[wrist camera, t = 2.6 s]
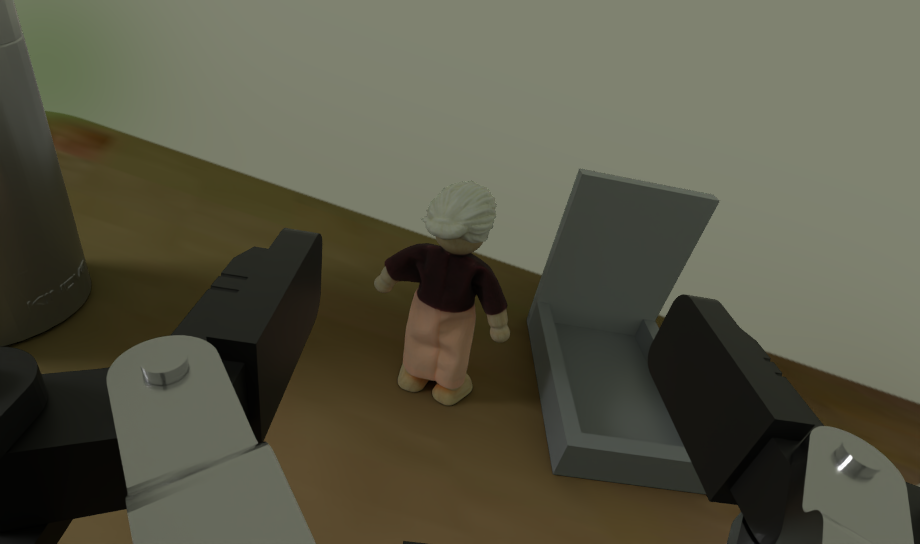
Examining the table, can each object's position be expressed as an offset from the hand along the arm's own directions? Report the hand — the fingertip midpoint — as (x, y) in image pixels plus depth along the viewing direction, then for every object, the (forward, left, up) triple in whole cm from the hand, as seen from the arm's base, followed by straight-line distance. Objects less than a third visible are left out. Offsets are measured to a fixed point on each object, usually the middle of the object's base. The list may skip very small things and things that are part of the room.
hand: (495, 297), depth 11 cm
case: (+11, +13, -15) cm, 23 cm away
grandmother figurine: (0, +12, -15) cm, 19 cm away
